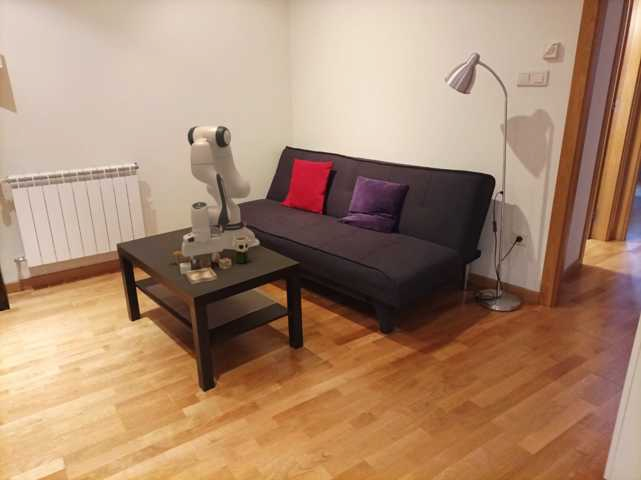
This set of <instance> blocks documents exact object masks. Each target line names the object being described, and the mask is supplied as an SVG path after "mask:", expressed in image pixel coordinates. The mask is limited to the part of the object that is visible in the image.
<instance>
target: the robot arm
mask: <svg viewBox="0 0 641 480" xmlns="http://www.w3.org/2000/svg"><path fill="white" fill-rule="evenodd" d="M231 139H232V134H231V132H230V130H229V129H228V128H227V127H226V126H223V125H219V126H218V125H203V126H193V127H191V128H190V129H189V130H188V131H187V141H188V143H189V145H190V147H191V148H190V170H191V175H192V176H193V177H194V178H195V180H197V181H199V182H201V183H203V184H206V186H205V187H206V192H207V193H208V194H209V195H210V196H211V197H212V198H213V199H214V201H215V203H216V204H217V205H208V204H207V203H206V202H203V201H198V202H195V203H193V204H191V208H190V220H191V221H190V222H191V224H192V227H191V228H192V229H191V232H189V233H187V234H185V235H183V236H182V239H183V241H182V244H181V252H182V255H183V256H184V257H188V256H190V258H191V262H192V264H193V265H196V264H197V260H196V259H195V258H194V257H195V256H200V255H207V254H214V255H213V257H212V256H210V259H211V262H212V261H215V257H216V255H217V253H220V252H224V250H231V251H232V250H233V251H236V250H235V249H232V243H234V238H235V237H238V236H246V237H248V240H251V245H250V246H249V248H252V247H257V246H259V245H261V244H260V241H259V239H258V238H256V237H255V236H256V235H255V233H254V232H253V231H252V230H250V229H249V228H248V227H246V226H248V225H247V222H246V221H244V220H242V219H241V209H240V206H239V205H237V204H236V203H235V202H234V200H233V199H238V200H239V199H245V198H248V197H249V195H250V194H251V185H250V183H249V181H248V180H246V179H245V178H244V177H243V176H242V175H241V174H240V173H239V171H238V170H237V167H236V165H235V160H234V157H233V152H232V147H231V144H230V143H231V142H232V141H231ZM210 226H219V229H220V233H211V232H212V231H211V227H210ZM248 244H249V242H248ZM233 246H234V245H233ZM234 247H235V246H234ZM193 256H194V257H193Z"/></svg>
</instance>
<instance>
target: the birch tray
mask: <svg viewBox="0 0 641 480" xmlns="http://www.w3.org/2000/svg"><path fill="white" fill-rule="evenodd" d="M185 276H186V278H187V279H188V281H189V282H190V284H191V285H195V284H200V283H206V282H211V281H217V280H218V276H217V274H216V273H215V271H214V269H212V267H211V268H204V269H201V268H199V269H193V270H191V271H187V272H186V274H185Z"/></svg>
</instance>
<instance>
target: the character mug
mask: <svg viewBox="0 0 641 480" xmlns="http://www.w3.org/2000/svg"><path fill="white" fill-rule="evenodd" d="M248 242H249V244H248ZM233 245H234V246H235V247H234V246H233ZM250 245H251V240H248V237H246V236H238V237H235V238H234V243H232V249H235V250H234V251H236V260H235V261H236V262H237V263H239V264H243V263H244V264H245V263H248V262H249V255H248V250H249V249H250V247H249V246H250ZM232 249H231V250H232Z"/></svg>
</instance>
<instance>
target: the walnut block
mask: <svg viewBox="0 0 641 480" xmlns="http://www.w3.org/2000/svg"><path fill="white" fill-rule="evenodd" d="M211 259H212V258H211V257H210V256H203V257H199V267H200V269H204V268H211V269H212V260H211Z"/></svg>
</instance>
